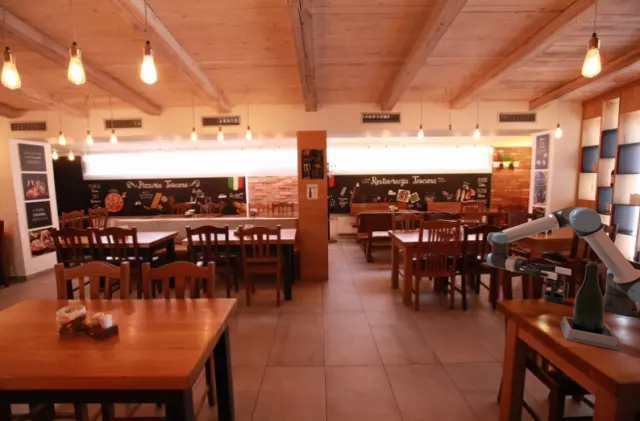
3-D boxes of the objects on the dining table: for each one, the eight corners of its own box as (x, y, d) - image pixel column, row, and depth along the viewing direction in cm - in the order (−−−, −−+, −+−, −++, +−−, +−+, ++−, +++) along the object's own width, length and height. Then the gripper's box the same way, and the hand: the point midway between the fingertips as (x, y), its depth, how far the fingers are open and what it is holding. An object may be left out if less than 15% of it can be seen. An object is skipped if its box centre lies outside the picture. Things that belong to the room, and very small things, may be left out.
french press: (540, 299, 186) (543, 261, 184) (544, 295, 193) (547, 259, 191) (565, 305, 178) (568, 265, 176) (568, 301, 184) (571, 262, 182)
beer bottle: (608, 338, 138) (615, 264, 136) (589, 340, 136) (595, 265, 133) (584, 327, 149) (589, 258, 146) (566, 329, 146) (571, 259, 144)
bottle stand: (608, 332, 146) (608, 323, 145) (620, 350, 130) (621, 340, 130) (559, 323, 155) (560, 315, 154) (565, 339, 139) (566, 329, 139)
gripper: (529, 268, 174) (576, 278, 155) (503, 275, 161) (550, 286, 143) (530, 255, 173) (576, 263, 155) (503, 261, 161) (550, 270, 142)
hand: (564, 274), depth 149 cm, fingers open, 13 cm apart
